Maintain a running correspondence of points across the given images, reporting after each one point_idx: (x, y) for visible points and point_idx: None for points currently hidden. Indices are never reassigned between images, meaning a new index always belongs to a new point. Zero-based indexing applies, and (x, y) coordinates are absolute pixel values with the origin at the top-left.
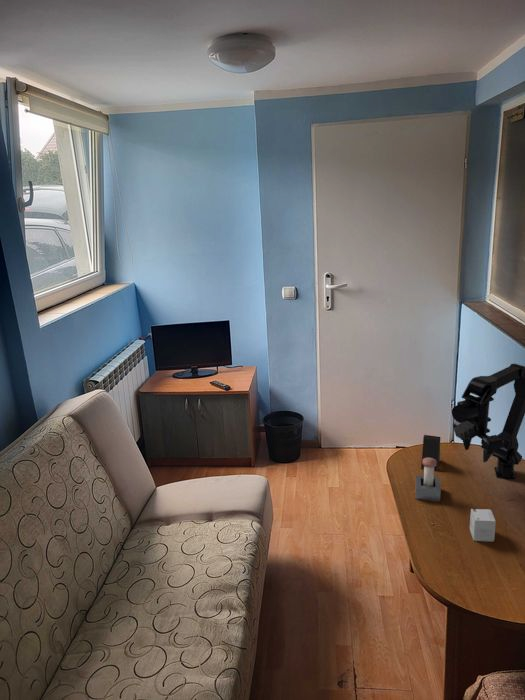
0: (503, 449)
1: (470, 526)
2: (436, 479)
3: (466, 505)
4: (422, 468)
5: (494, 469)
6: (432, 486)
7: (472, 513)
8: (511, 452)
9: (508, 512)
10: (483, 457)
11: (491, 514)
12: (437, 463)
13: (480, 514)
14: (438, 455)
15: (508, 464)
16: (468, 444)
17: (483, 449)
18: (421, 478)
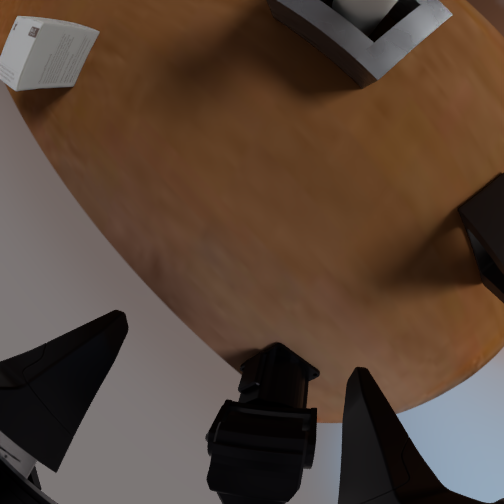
0: (229, 449)
1: (81, 26)
2: (370, 48)
3: (193, 96)
4: (500, 175)
5: (314, 367)
6: (336, 2)
7: (31, 19)
8: (209, 444)
9: (108, 204)
10: (90, 333)
11: (6, 79)
12: (479, 228)
13: (17, 42)
14: (499, 258)
15: (245, 398)
16: (349, 425)
17: (17, 384)
18: (418, 7)
